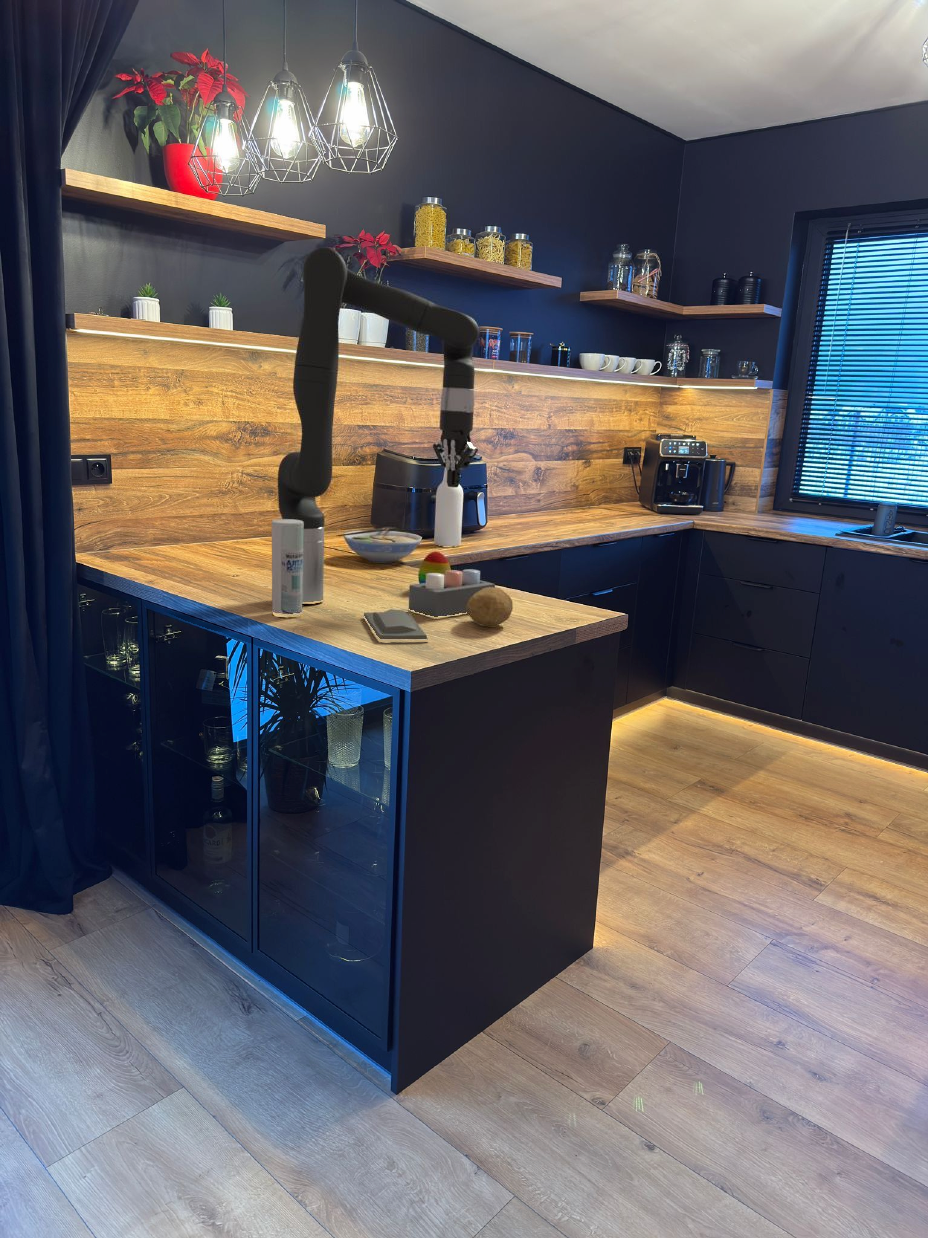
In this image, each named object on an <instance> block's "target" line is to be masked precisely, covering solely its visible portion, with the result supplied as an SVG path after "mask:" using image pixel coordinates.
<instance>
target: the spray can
mask: <svg viewBox="0 0 928 1238" xmlns="http://www.w3.org/2000/svg"><path fill="white" fill-rule="evenodd" d="M303 528H304V523H303V521H301V520H294V519H282V518H278V519H273V520H271V612H272V611H273V612H275V613H282V614H293V613H300V612H302V613H303V605H302V585H303Z"/></svg>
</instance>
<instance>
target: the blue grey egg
mask: <svg viewBox="0 0 928 1238" xmlns="http://www.w3.org/2000/svg"><path fill="white" fill-rule="evenodd" d="M462 572H463V575H462V583H465V584H469V585H473V584H479V583H480V580H481V570H478V569H473V568H472V569H471V568H470V569H463V570H462Z"/></svg>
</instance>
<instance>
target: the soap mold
mask: <svg viewBox="0 0 928 1238" xmlns="http://www.w3.org/2000/svg"><path fill="white" fill-rule="evenodd" d="M364 616H365V618H366V619H367V621H368V623H369V624H370V626H371V627H372V628H373V630H374V631H375V633H376V635H377V636H378V637H379V638H380V639H427V640H428V637H427V634H426V632H425V631H424V630H423V629H422V628H421V626H420V625H419V624H418V623H417V621H416V620H415V619H414V617H413V616H412V614H411V613H410V612H409V611H405V610H402V609H391V608H390V609H388V610H386V611H383V612H382V611H380V612H378V611H375V612H363V617H364Z"/></svg>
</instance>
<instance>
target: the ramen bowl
mask: <svg viewBox="0 0 928 1238" xmlns="http://www.w3.org/2000/svg"><path fill="white" fill-rule="evenodd" d="M397 530H398V528H397V527H396V526H395V527H393V526H387V527H380V528H375V529H369V530H368V529H367V530H354V531H349V532H345V533H343V534H336V535H335V537H342V536H343V539H344V542H346V544H347V545H348V547H349V548H350V549H351V551H352V552H354V553H355V554H356V555H358V556H359V557H361V558H363V559H366V560H368V561H369V562H372V563H376V564H392V563H394V562H396V561H398V560H402V559H404V558H407V557H408V556H410V555H411V554H412V553H413V552H414V551H415V550H416V548H417V547H418V546H419V544H420V542H421V540H423V539H422V538H423V537H422V536H420V535H418V534H415V533H410V532H403V531H397Z"/></svg>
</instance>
